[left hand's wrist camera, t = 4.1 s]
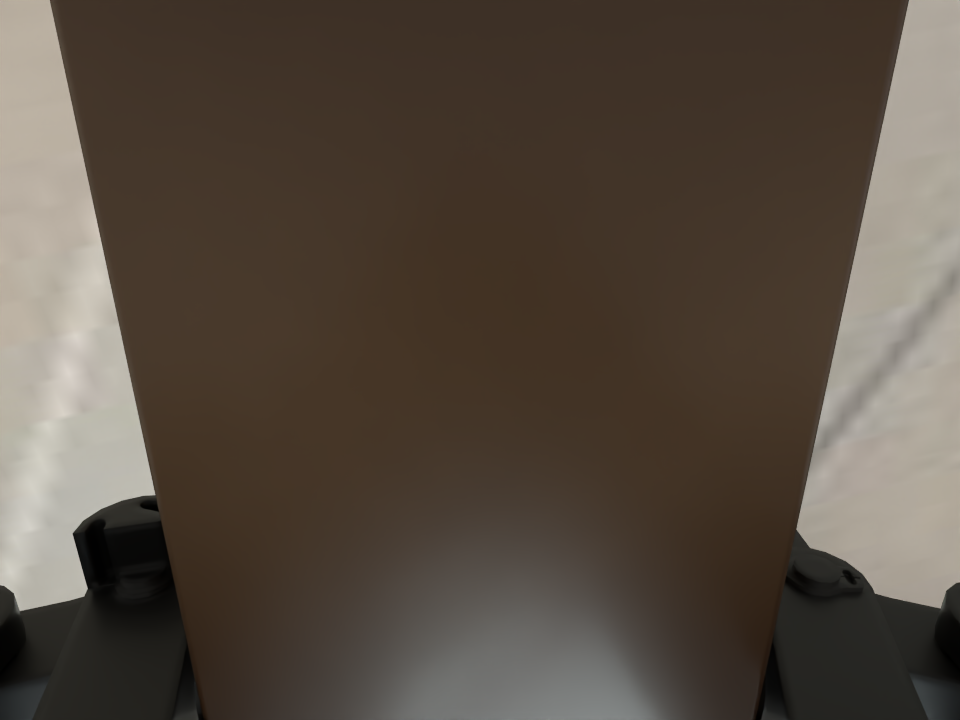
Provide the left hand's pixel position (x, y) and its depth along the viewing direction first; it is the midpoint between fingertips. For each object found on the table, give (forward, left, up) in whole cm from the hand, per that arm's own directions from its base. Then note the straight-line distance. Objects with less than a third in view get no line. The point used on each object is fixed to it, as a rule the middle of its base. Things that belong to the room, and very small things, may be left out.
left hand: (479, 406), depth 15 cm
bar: (+7, 0, -1) cm, 7 cm away
